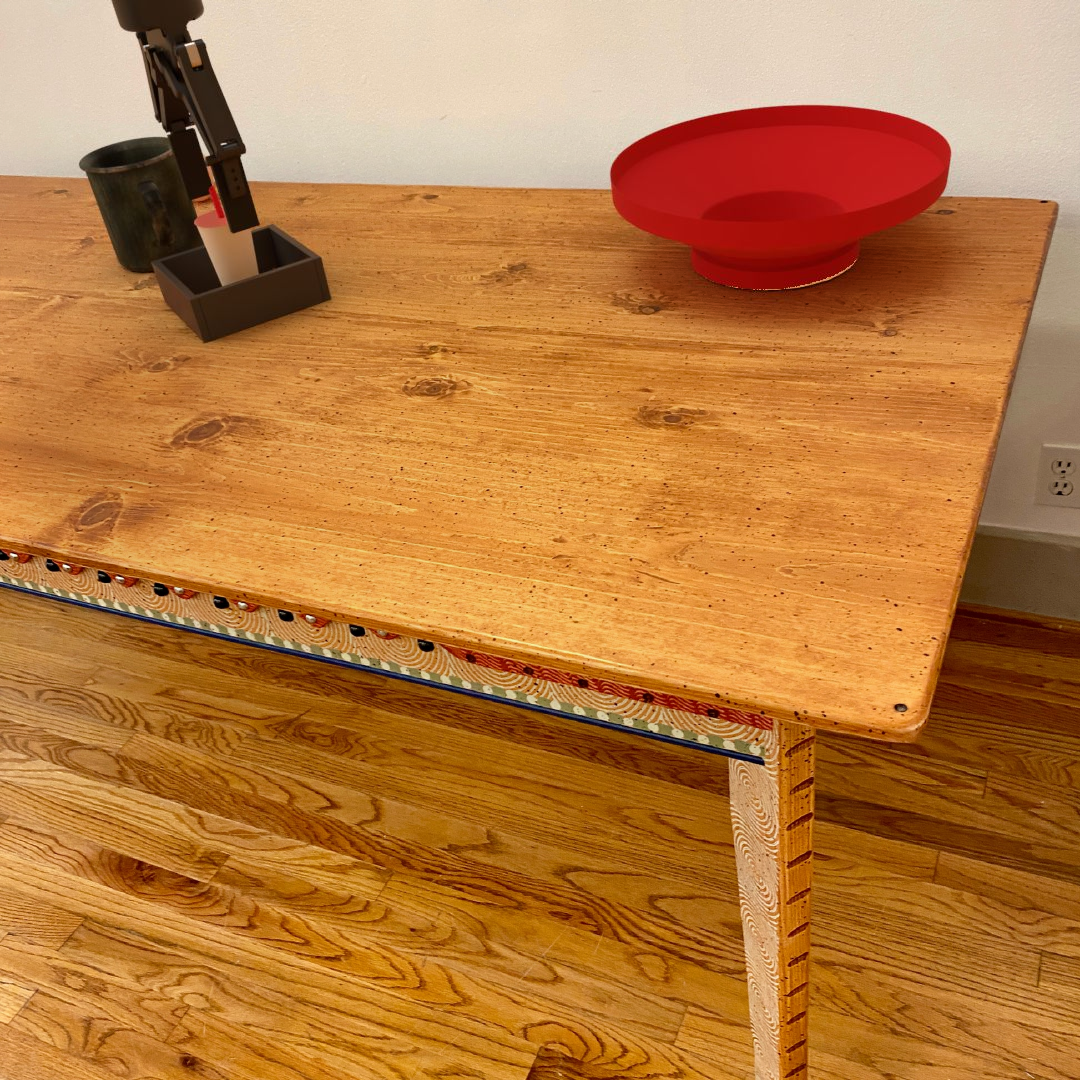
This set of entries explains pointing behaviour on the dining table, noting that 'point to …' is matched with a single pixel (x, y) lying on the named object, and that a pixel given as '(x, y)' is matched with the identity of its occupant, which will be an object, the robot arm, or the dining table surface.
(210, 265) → the dark brown open box
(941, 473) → the dining table surface
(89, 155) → the mug
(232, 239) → the cup
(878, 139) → the bowl
